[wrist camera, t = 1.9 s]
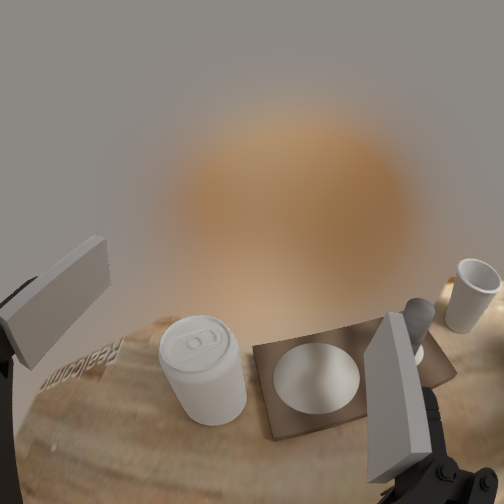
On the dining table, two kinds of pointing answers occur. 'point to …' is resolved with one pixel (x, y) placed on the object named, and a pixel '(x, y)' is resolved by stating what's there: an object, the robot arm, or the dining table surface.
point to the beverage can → (204, 369)
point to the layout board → (337, 372)
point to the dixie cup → (471, 294)
